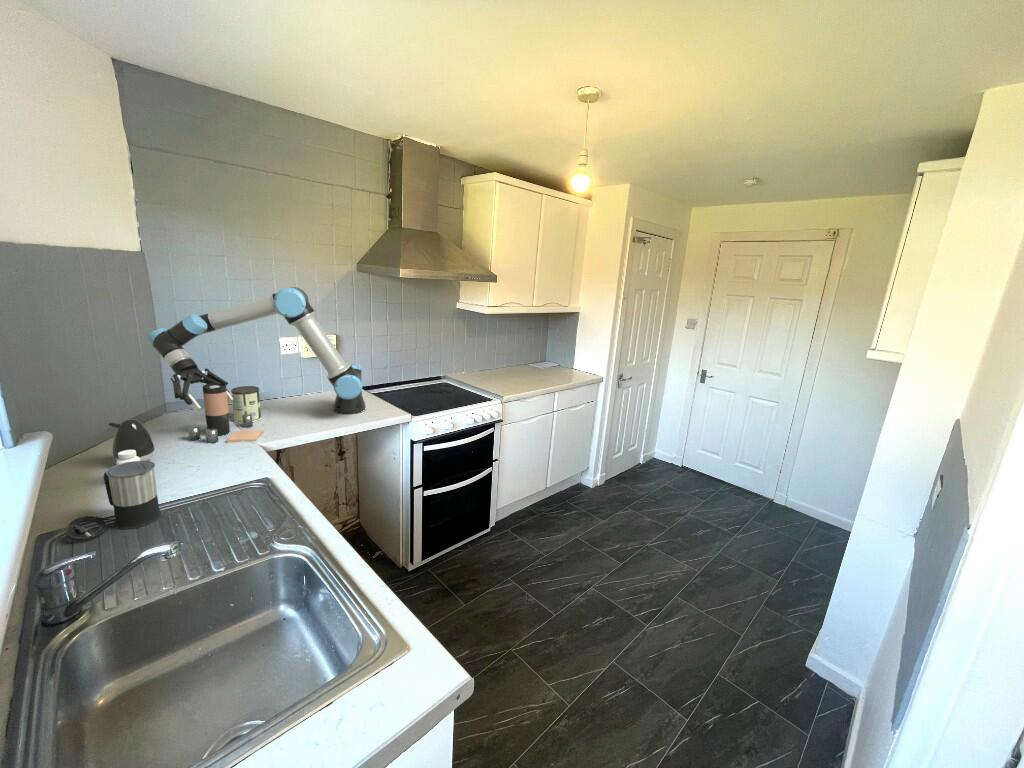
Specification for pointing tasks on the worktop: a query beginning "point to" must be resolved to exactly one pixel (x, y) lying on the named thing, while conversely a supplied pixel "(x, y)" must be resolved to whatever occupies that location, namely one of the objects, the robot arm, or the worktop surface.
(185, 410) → the worktop surface
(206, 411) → the travel mug
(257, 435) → the terracotta tile
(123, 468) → the milk frother
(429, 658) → the worktop surface
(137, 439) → the pump dispenser
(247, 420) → the spacer posts
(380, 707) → the worktop surface
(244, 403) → the coffee can
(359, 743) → the worktop surface
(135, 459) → the supplement bottle
